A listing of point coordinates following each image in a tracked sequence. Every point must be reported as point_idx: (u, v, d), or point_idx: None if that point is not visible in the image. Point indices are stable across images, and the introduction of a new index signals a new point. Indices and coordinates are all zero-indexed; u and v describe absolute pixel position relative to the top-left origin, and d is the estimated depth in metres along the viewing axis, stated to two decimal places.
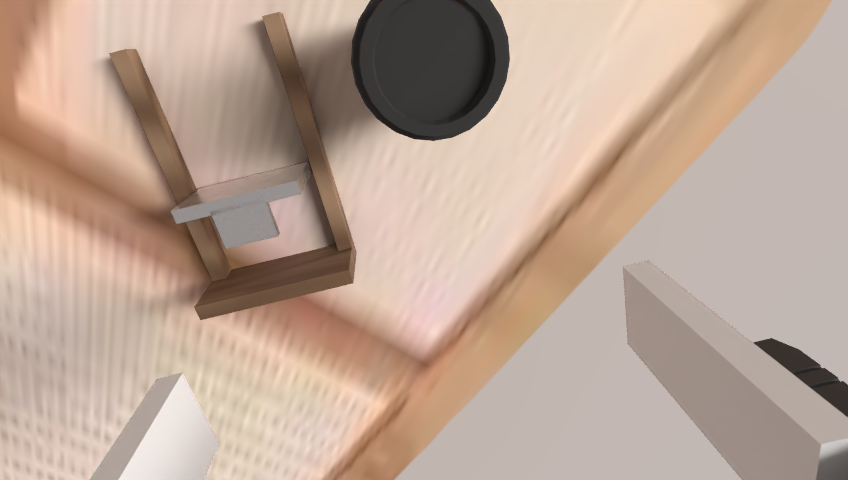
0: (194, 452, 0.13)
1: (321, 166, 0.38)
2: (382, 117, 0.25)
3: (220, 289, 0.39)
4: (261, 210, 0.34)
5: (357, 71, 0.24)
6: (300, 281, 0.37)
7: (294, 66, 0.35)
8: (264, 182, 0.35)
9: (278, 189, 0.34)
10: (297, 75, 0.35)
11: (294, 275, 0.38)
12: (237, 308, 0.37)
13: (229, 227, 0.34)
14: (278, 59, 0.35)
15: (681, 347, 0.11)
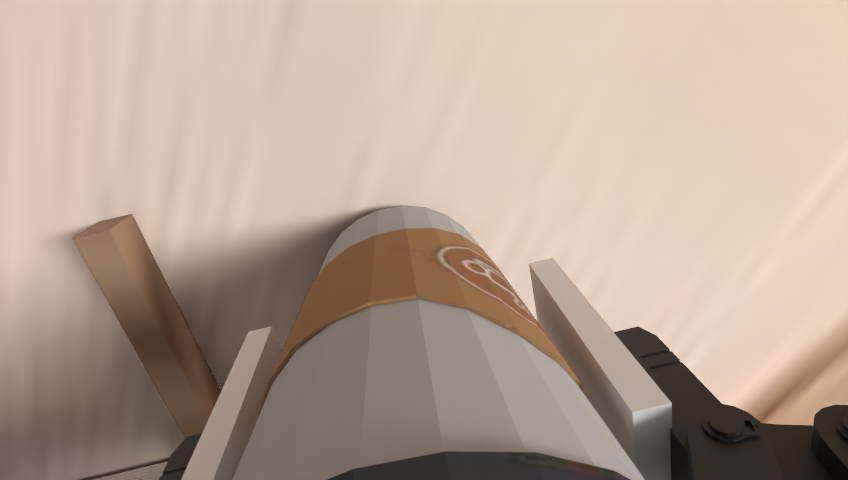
0: None
1: None
2: None
3: None
4: None
5: None
6: None
7: (155, 324, 0.17)
8: None
9: None
10: (164, 338, 0.17)
11: None
12: None
13: None
14: (119, 314, 0.17)
15: (564, 335, 0.12)
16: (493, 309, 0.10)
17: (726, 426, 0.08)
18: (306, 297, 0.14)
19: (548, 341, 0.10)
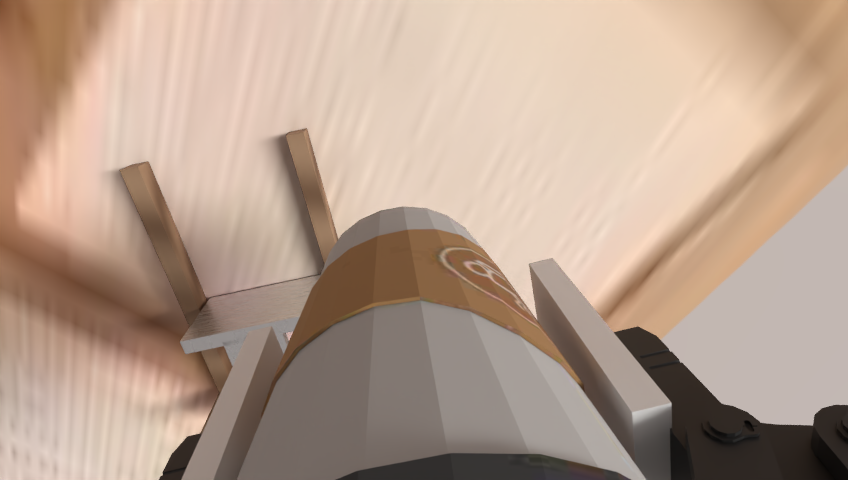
0: None
1: None
2: None
3: None
4: (278, 341, 0.32)
5: None
6: None
7: (317, 185, 0.33)
8: (281, 306, 0.33)
9: (297, 321, 0.31)
10: (320, 193, 0.33)
11: None
12: None
13: None
14: (300, 178, 0.33)
15: (564, 335, 0.12)
16: (495, 310, 0.10)
17: (726, 426, 0.08)
18: (308, 298, 0.14)
19: (550, 342, 0.10)
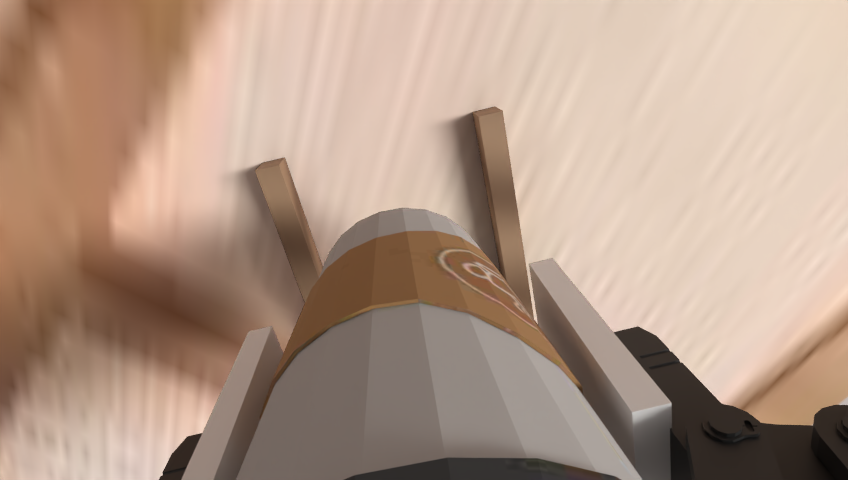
0: None
1: (525, 307, 0.27)
2: None
3: None
4: None
5: None
6: None
7: (511, 182, 0.24)
8: None
9: None
10: (513, 194, 0.25)
11: None
12: None
13: None
14: (491, 174, 0.24)
15: (564, 335, 0.12)
16: (494, 313, 0.10)
17: (726, 426, 0.08)
18: (307, 300, 0.14)
19: (549, 344, 0.10)
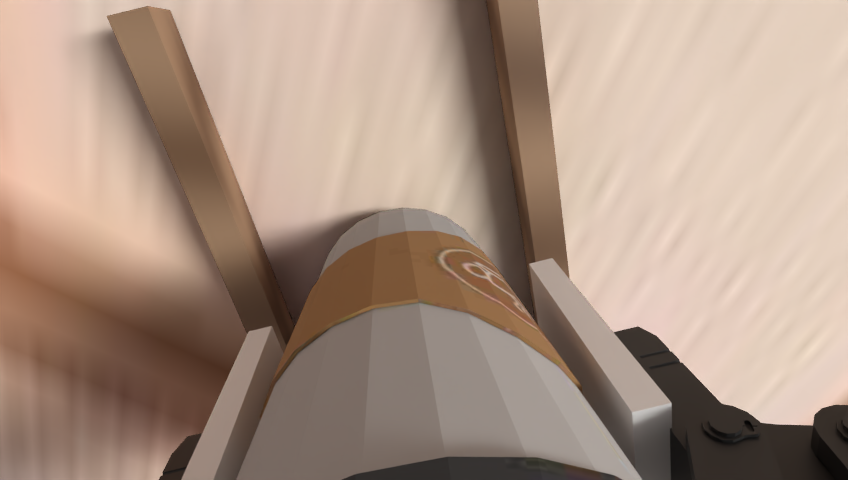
0: None
1: None
2: None
3: None
4: None
5: None
6: None
7: (540, 49, 0.15)
8: None
9: None
10: (543, 71, 0.15)
11: None
12: None
13: None
14: (507, 33, 0.15)
15: (564, 335, 0.12)
16: (494, 313, 0.10)
17: (726, 426, 0.08)
18: (307, 300, 0.14)
19: (548, 344, 0.10)
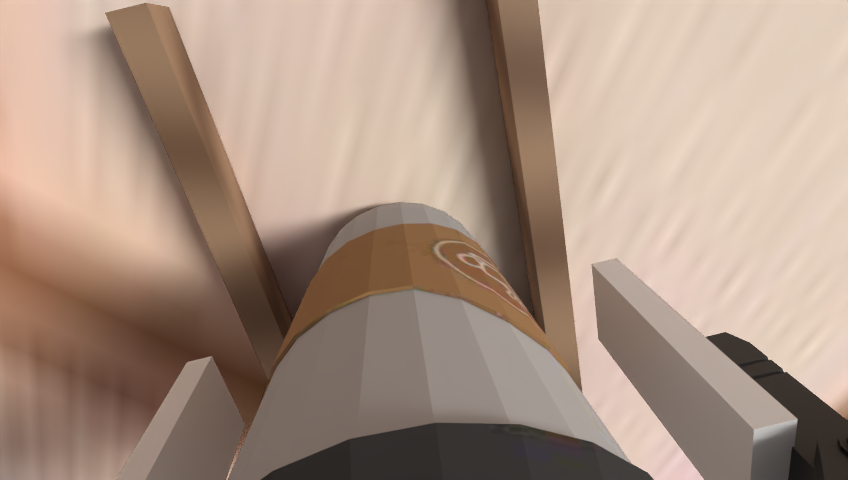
0: (224, 432, 0.14)
1: (557, 262, 0.18)
2: None
3: None
4: None
5: None
6: None
7: (540, 47, 0.15)
8: None
9: None
10: (542, 68, 0.15)
11: None
12: None
13: None
14: (507, 30, 0.15)
15: (641, 341, 0.12)
16: (486, 299, 0.10)
17: None
18: (307, 290, 0.14)
19: (538, 330, 0.11)
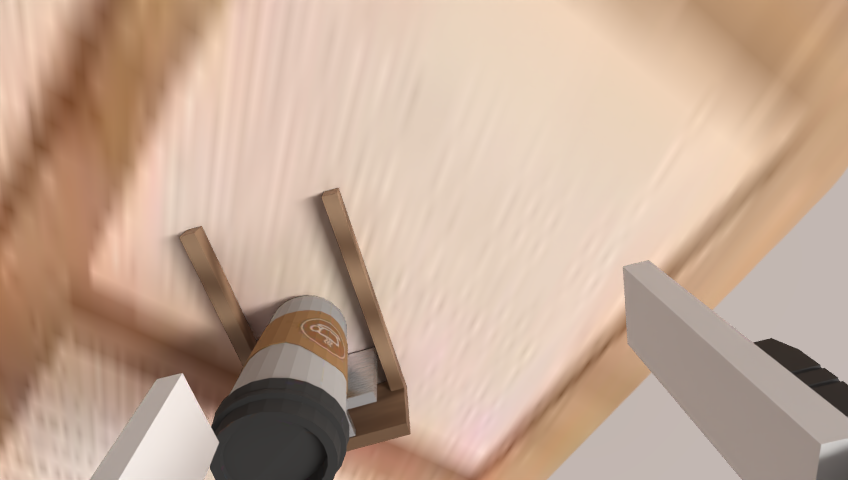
0: (194, 452, 0.13)
1: (375, 320, 0.40)
2: None
3: None
4: None
5: None
6: (360, 434, 0.39)
7: (351, 237, 0.37)
8: None
9: (357, 399, 0.37)
10: (353, 244, 0.37)
11: None
12: None
13: None
14: (336, 232, 0.37)
15: (681, 347, 0.11)
16: (308, 344, 0.32)
17: None
18: None
19: (327, 354, 0.32)
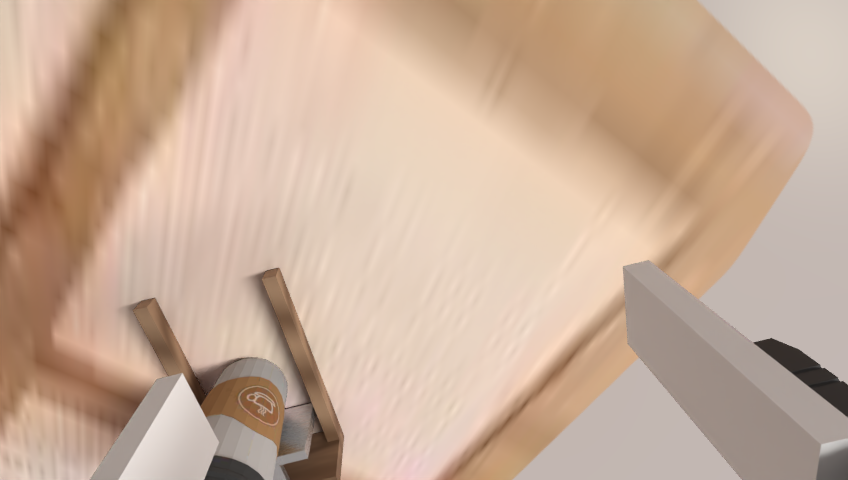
0: (194, 452, 0.13)
1: (312, 382, 0.44)
2: None
3: None
4: (276, 470, 0.42)
5: None
6: None
7: (289, 312, 0.41)
8: None
9: (290, 456, 0.41)
10: (291, 318, 0.42)
11: (289, 475, 0.44)
12: None
13: None
14: (275, 308, 0.41)
15: (681, 347, 0.11)
16: (241, 416, 0.37)
17: None
18: None
19: (259, 424, 0.37)
